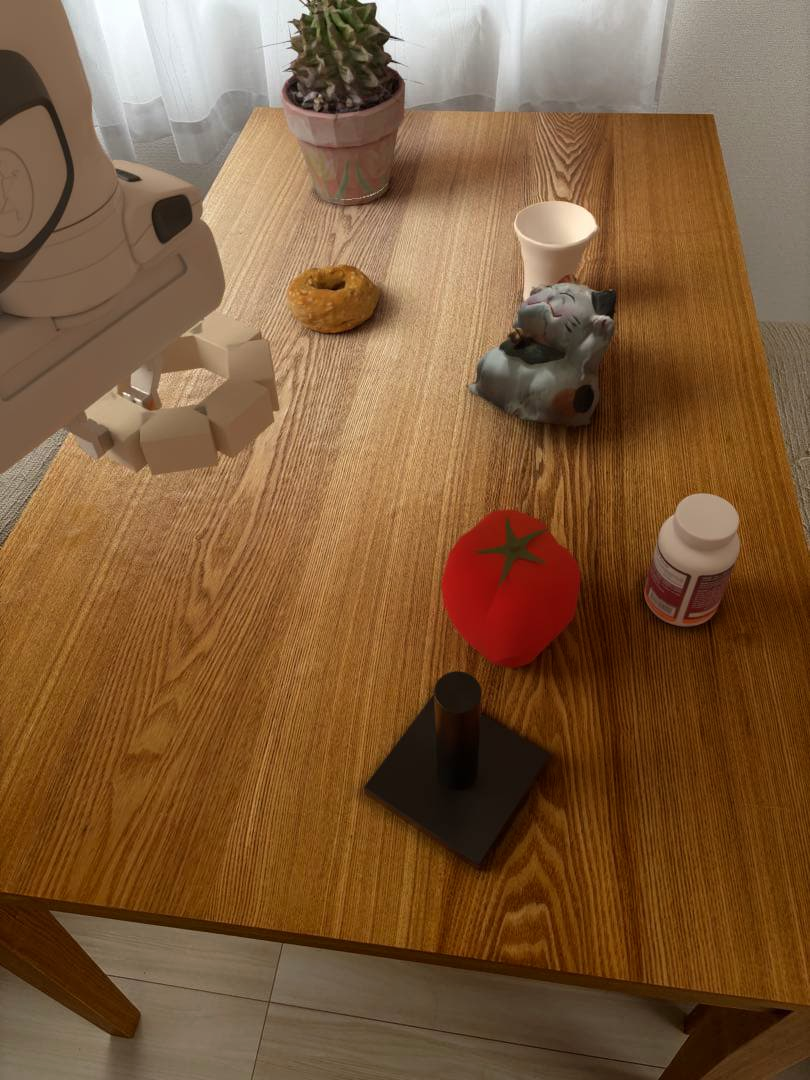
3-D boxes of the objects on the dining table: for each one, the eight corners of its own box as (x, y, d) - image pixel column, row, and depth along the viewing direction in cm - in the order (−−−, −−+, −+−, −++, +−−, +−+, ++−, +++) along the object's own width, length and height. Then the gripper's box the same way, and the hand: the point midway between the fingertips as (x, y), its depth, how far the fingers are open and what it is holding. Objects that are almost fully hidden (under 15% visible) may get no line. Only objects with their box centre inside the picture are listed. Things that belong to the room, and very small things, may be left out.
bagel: (395, 319, 100) (393, 283, 96) (307, 349, 97) (301, 314, 93) (360, 274, 105) (357, 239, 102) (276, 302, 103) (269, 267, 99)
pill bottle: (717, 575, 75) (751, 491, 67) (716, 635, 72) (752, 553, 63) (644, 565, 76) (668, 480, 68) (640, 622, 73) (664, 541, 64)
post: (478, 871, 61) (483, 797, 50) (364, 793, 65) (347, 711, 54) (548, 759, 66) (566, 672, 55) (439, 694, 69) (436, 600, 59)
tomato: (444, 689, 70) (443, 619, 62) (439, 563, 78) (438, 487, 70) (584, 686, 69) (600, 615, 61) (565, 559, 77) (578, 482, 69)
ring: (186, 501, 56) (175, 469, 53) (46, 424, 61) (31, 391, 58) (315, 385, 62) (310, 351, 60) (180, 324, 67) (171, 291, 65)
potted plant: (394, 237, 110) (381, 24, 91) (262, 207, 116) (224, 0, 96) (450, 169, 120) (450, -37, 100) (327, 144, 126) (303, -55, 106)
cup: (578, 329, 97) (589, 250, 89) (499, 313, 100) (503, 235, 92) (598, 284, 102) (609, 205, 94) (522, 269, 105) (527, 192, 97)
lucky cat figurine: (449, 377, 93) (486, 246, 87) (543, 390, 98) (585, 266, 92) (510, 434, 81) (558, 287, 75) (614, 446, 86) (667, 308, 80)
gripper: (-75, 369, 40) (33, 553, 51) (219, 176, 51) (257, 362, 61) (-154, 325, 43) (-35, 509, 53) (142, 149, 53) (192, 333, 64)
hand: (123, 429), depth 58 cm, fingers closed on ring, 3 cm apart
